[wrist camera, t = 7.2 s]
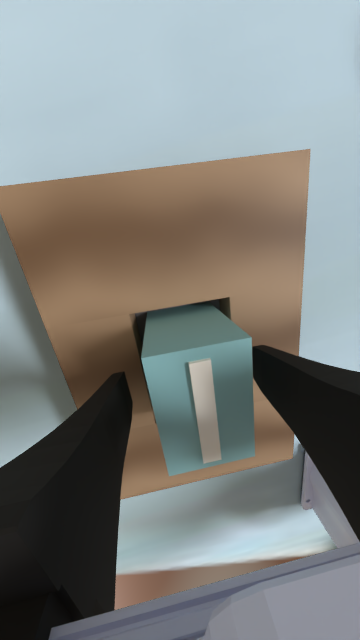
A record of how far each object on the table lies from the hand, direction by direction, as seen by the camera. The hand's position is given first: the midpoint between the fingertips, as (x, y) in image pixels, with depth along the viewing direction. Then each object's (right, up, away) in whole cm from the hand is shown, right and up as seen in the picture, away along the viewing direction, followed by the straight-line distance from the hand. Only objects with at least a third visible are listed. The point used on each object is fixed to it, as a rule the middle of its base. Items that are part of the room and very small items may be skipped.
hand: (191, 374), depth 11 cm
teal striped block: (0, +1, +3) cm, 3 cm away
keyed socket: (0, +1, +3) cm, 3 cm away
